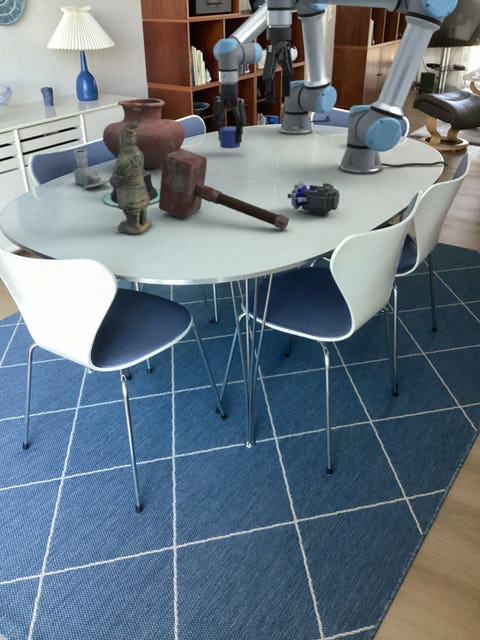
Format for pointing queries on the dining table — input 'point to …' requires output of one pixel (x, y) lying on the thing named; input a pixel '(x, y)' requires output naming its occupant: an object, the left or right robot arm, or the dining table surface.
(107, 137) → the clay pot
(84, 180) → the grey boot
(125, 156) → the statue
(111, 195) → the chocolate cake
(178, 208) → the sledgehammer
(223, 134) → the canister
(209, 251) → the dining table surface
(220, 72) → the left robot arm
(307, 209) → the toy
